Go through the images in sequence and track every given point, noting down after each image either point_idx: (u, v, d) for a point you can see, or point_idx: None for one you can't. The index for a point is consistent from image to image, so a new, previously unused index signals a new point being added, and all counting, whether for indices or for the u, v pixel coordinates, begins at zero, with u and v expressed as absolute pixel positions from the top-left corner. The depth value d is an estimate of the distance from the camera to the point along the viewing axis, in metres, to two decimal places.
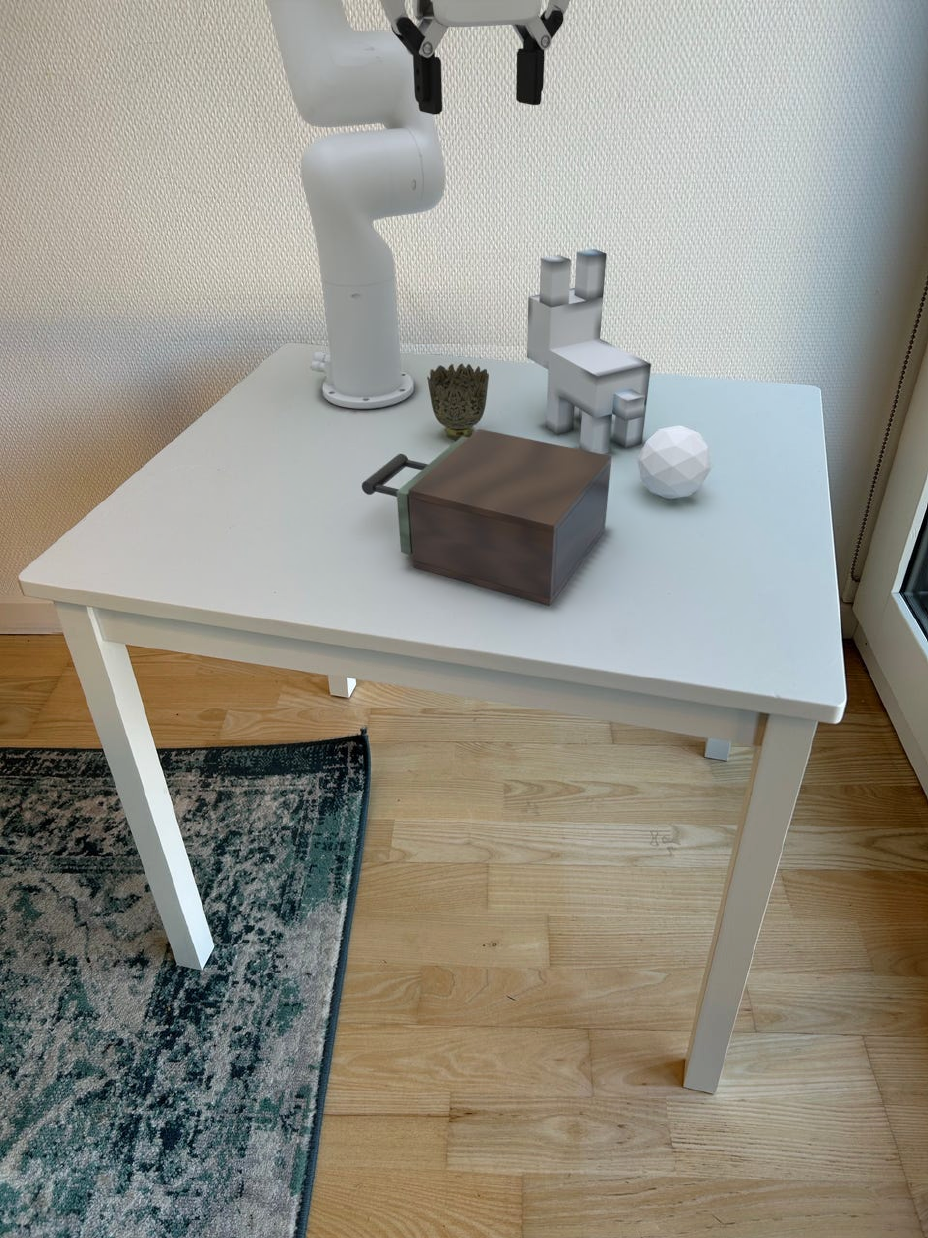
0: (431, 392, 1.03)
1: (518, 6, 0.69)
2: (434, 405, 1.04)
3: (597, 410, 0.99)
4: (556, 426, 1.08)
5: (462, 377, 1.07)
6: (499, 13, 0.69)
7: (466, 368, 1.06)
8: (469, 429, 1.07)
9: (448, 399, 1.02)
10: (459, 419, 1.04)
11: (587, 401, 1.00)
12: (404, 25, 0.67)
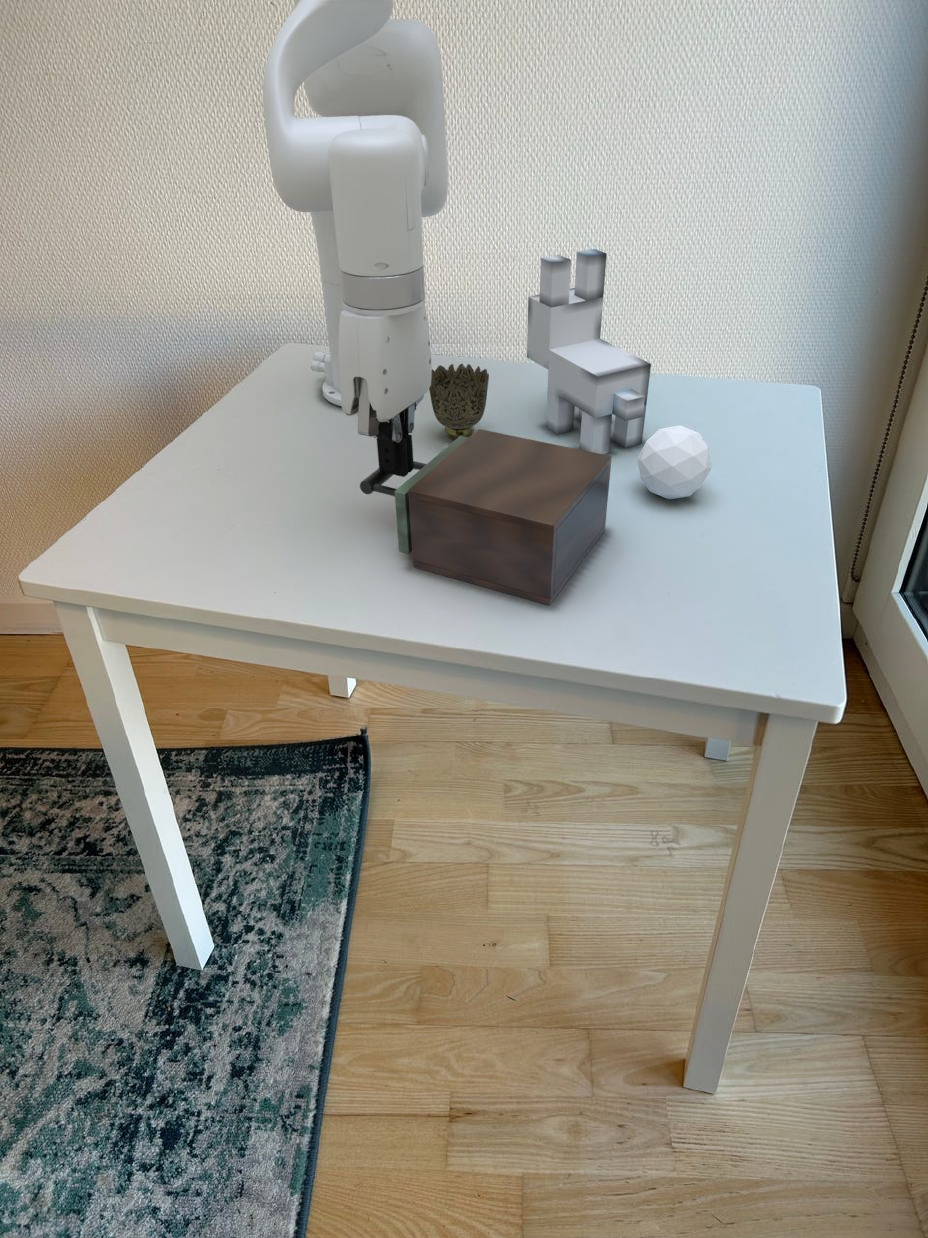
0: (431, 392, 1.03)
1: (421, 388, 0.84)
2: (434, 405, 1.04)
3: (597, 410, 0.99)
4: (556, 426, 1.08)
5: (462, 377, 1.07)
6: (413, 398, 0.83)
7: (466, 368, 1.06)
8: (469, 429, 1.07)
9: (448, 399, 1.02)
10: (459, 419, 1.04)
11: (587, 401, 1.00)
12: (385, 427, 0.82)
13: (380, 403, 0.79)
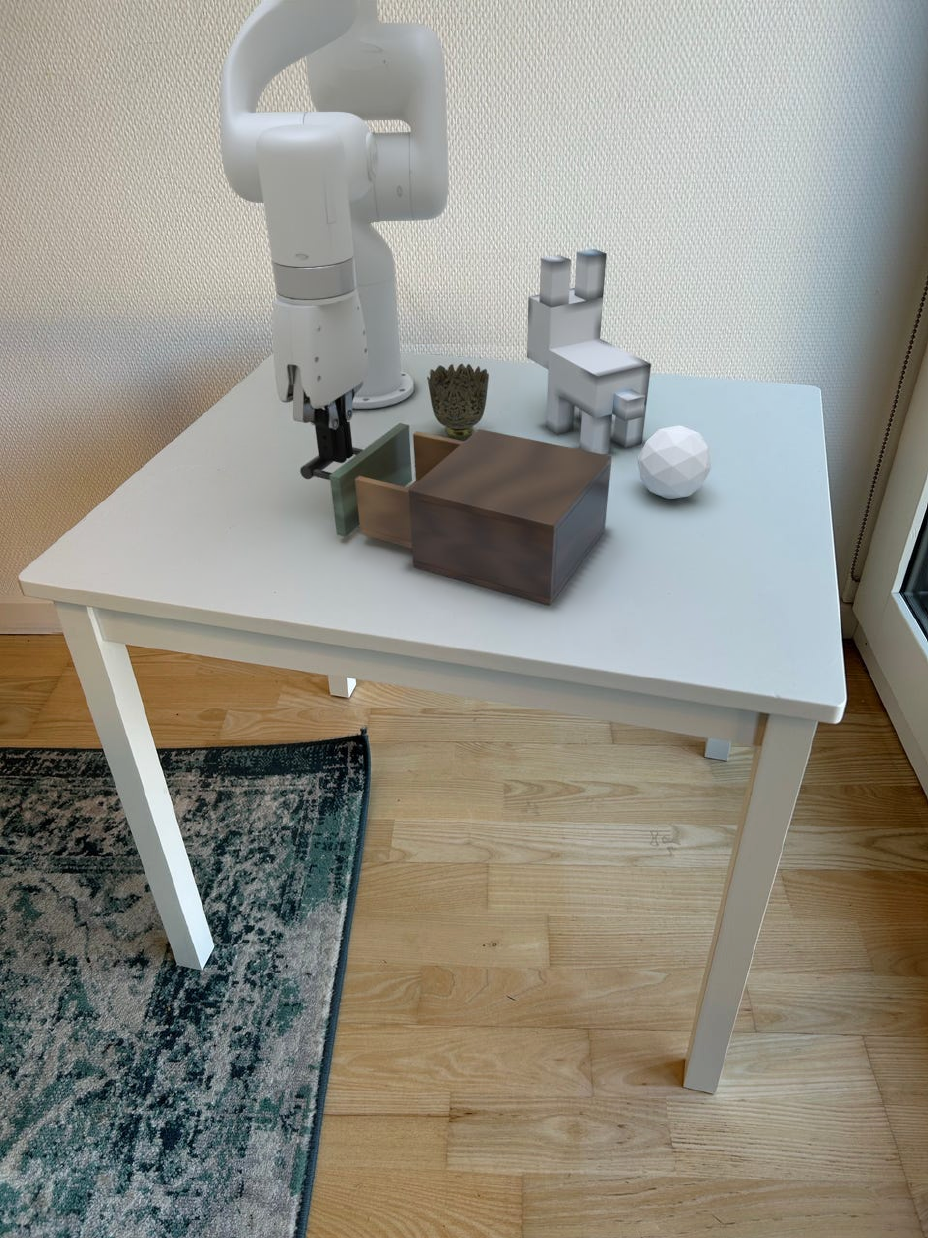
0: (431, 392, 1.03)
1: (358, 377, 0.87)
2: (434, 405, 1.04)
3: (597, 410, 0.99)
4: (556, 426, 1.08)
5: (462, 377, 1.07)
6: (348, 386, 0.86)
7: (466, 368, 1.06)
8: (469, 429, 1.07)
9: (448, 399, 1.02)
10: (459, 419, 1.04)
11: (587, 401, 1.00)
12: (320, 414, 0.85)
13: (313, 390, 0.81)
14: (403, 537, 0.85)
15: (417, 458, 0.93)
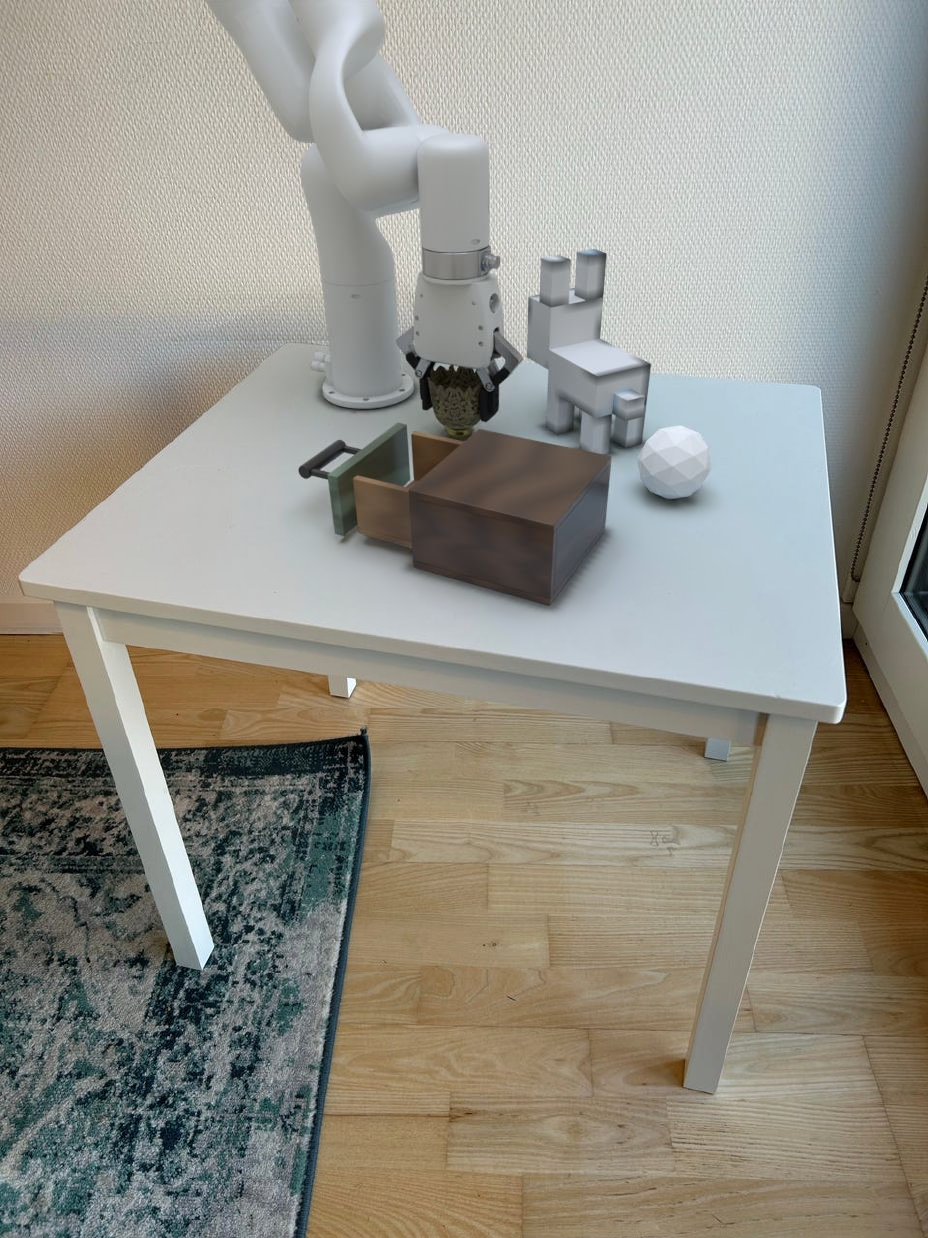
0: (431, 392, 1.03)
1: (467, 359, 0.99)
2: (434, 405, 1.04)
3: (597, 410, 0.99)
4: (556, 426, 1.08)
5: (462, 377, 1.07)
6: (454, 360, 1.00)
7: (467, 368, 1.06)
8: (469, 429, 1.07)
9: (448, 399, 1.02)
10: (459, 419, 1.04)
11: (587, 401, 1.00)
12: (407, 357, 1.04)
13: (414, 340, 1.01)
14: (401, 536, 0.85)
15: (415, 458, 0.93)
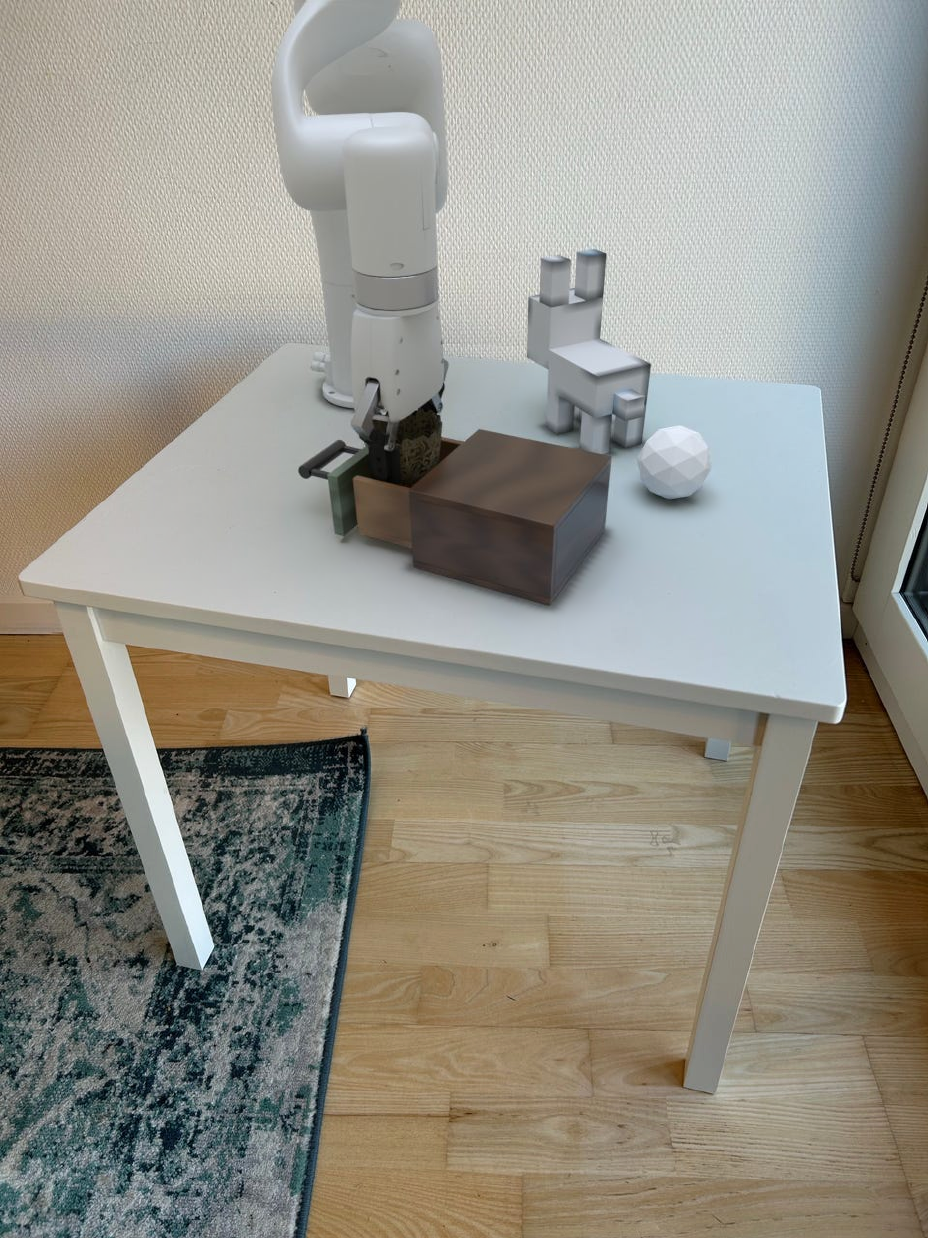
0: (418, 451, 0.83)
1: (434, 388, 0.84)
2: (421, 464, 0.84)
3: (597, 410, 0.99)
4: (556, 426, 1.08)
5: None
6: (425, 399, 0.83)
7: None
8: None
9: (438, 442, 0.85)
10: None
11: (587, 401, 1.00)
12: (376, 436, 0.79)
13: (392, 404, 0.78)
14: (401, 536, 0.85)
15: None
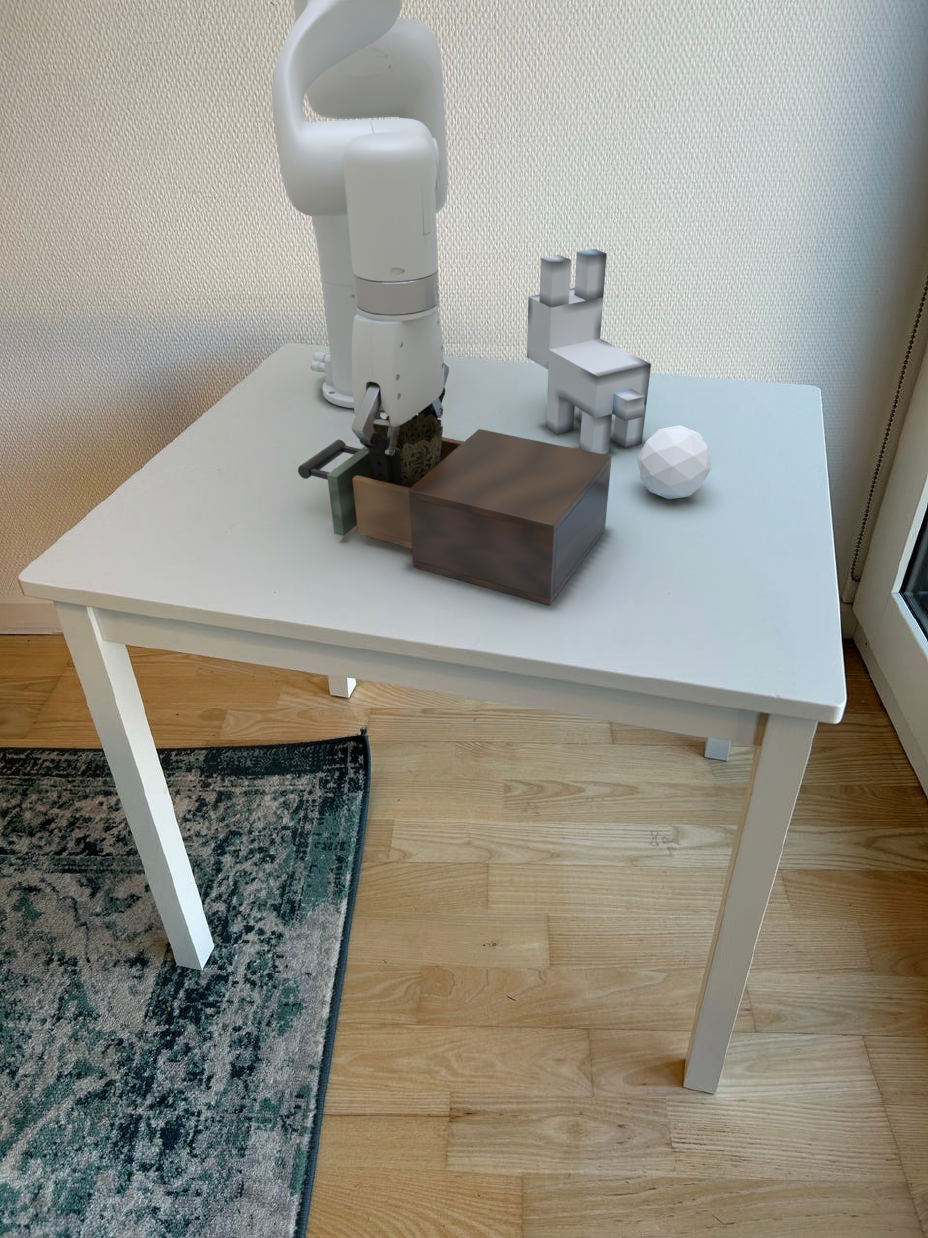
0: (419, 455, 0.83)
1: (434, 393, 0.84)
2: (422, 468, 0.84)
3: (597, 410, 0.99)
4: (556, 426, 1.08)
5: None
6: (425, 403, 0.83)
7: None
8: None
9: (439, 447, 0.85)
10: None
11: (587, 401, 1.00)
12: (377, 440, 0.79)
13: (393, 408, 0.78)
14: (400, 536, 0.85)
15: None
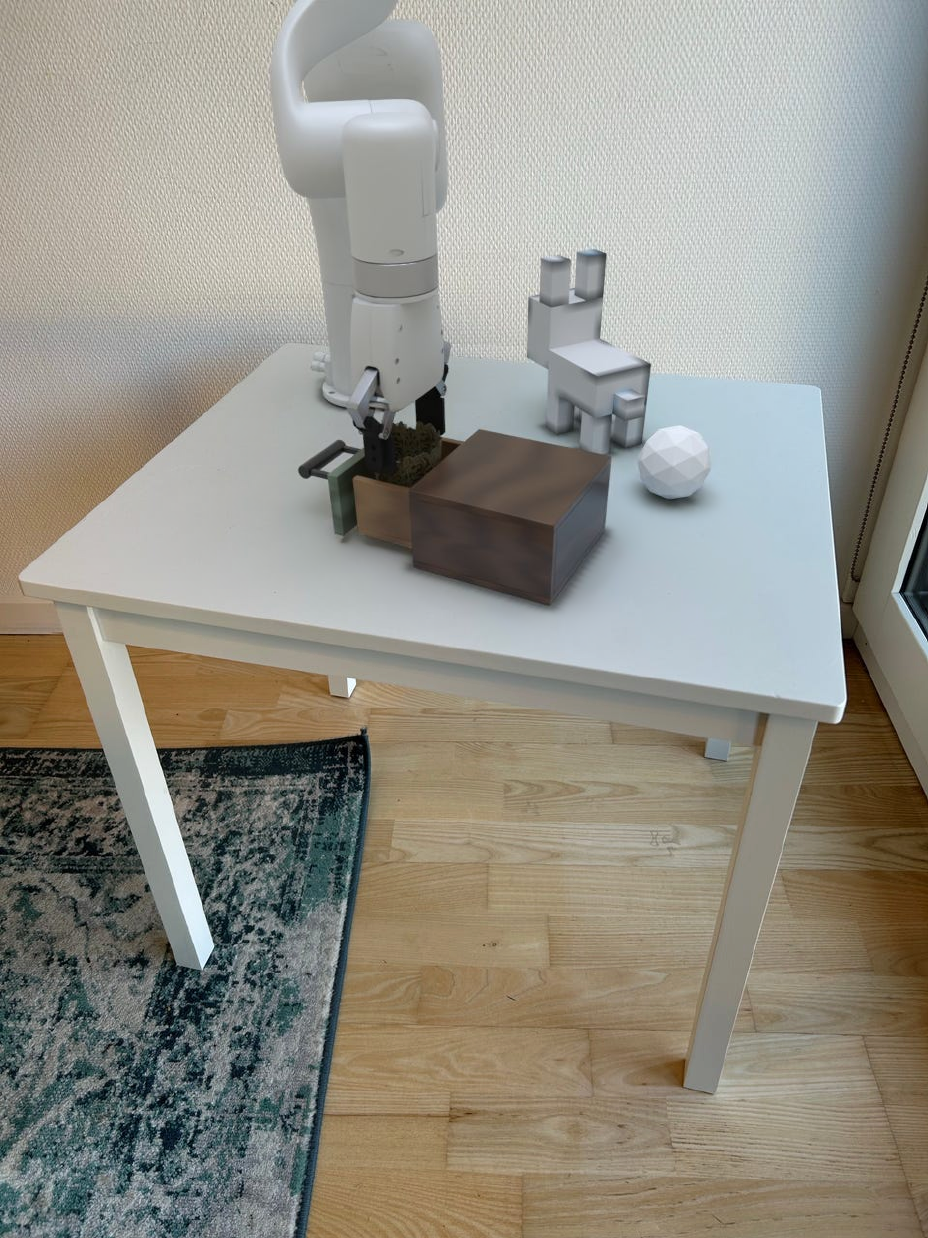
0: (419, 467, 0.84)
1: (434, 378, 0.83)
2: None
3: (597, 410, 0.99)
4: (556, 426, 1.08)
5: None
6: (425, 389, 0.82)
7: None
8: None
9: (439, 457, 0.85)
10: None
11: (587, 401, 1.00)
12: (370, 423, 0.77)
13: (392, 393, 0.77)
14: (401, 536, 0.85)
15: None
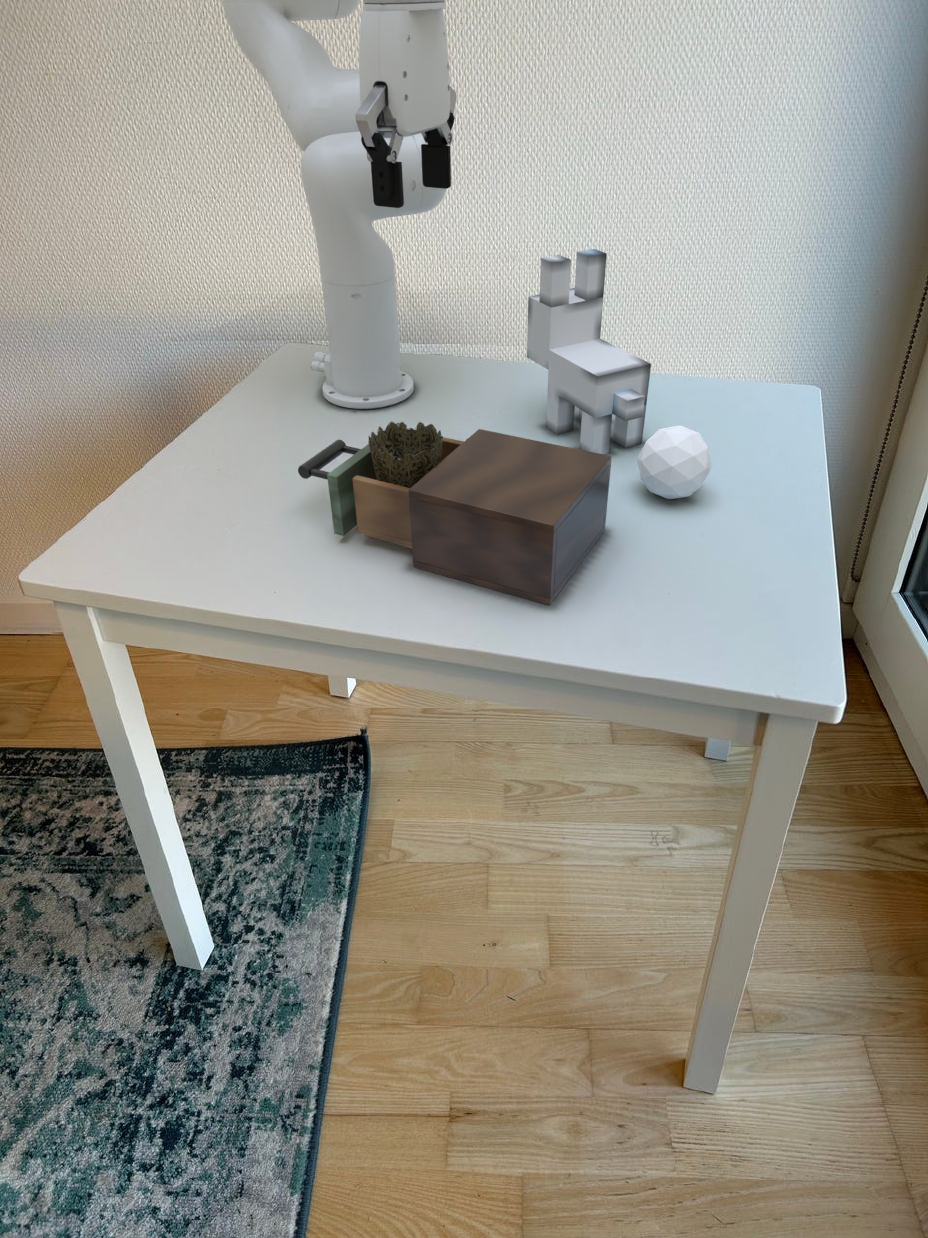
0: (420, 465, 0.84)
1: (440, 114, 0.85)
2: None
3: (597, 410, 0.99)
4: (556, 426, 1.08)
5: None
6: (432, 121, 0.84)
7: (372, 437, 0.87)
8: None
9: (439, 456, 0.86)
10: None
11: (587, 401, 1.00)
12: (379, 139, 0.79)
13: (400, 110, 0.79)
14: (401, 536, 0.85)
15: None
